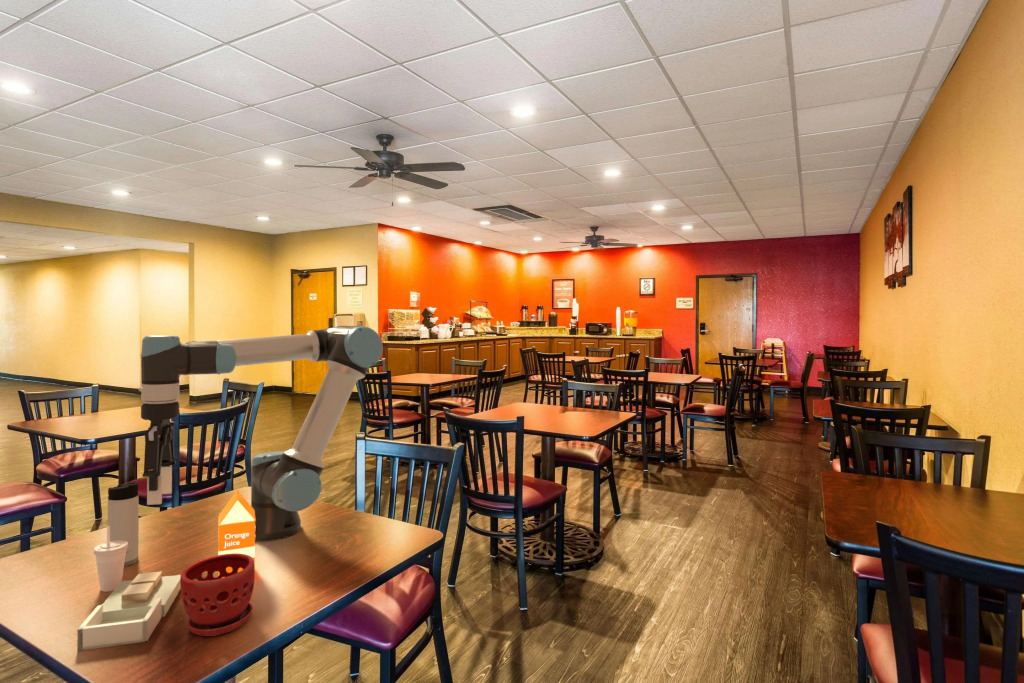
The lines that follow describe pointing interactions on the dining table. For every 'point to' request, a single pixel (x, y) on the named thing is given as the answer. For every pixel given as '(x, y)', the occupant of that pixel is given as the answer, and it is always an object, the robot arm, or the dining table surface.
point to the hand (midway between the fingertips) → (159, 498)
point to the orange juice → (237, 528)
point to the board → (127, 611)
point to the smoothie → (110, 562)
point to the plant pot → (218, 593)
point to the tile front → (137, 593)
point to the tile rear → (148, 578)
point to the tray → (117, 629)
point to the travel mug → (124, 518)
